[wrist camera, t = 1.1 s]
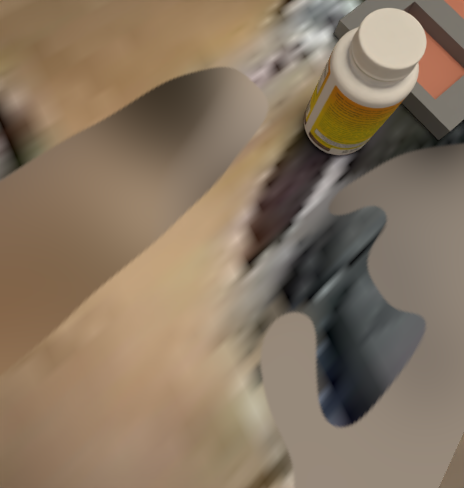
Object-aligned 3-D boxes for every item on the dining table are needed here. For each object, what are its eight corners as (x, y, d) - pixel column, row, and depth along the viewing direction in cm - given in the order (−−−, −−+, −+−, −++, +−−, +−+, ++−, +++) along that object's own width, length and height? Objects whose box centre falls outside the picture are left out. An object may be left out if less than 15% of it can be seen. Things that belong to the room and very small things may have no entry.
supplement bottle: (376, 151, 30) (454, 74, 21) (311, 163, 30) (359, 89, 20) (359, 90, 31) (425, -12, 22) (294, 100, 31) (333, 1, 21)
